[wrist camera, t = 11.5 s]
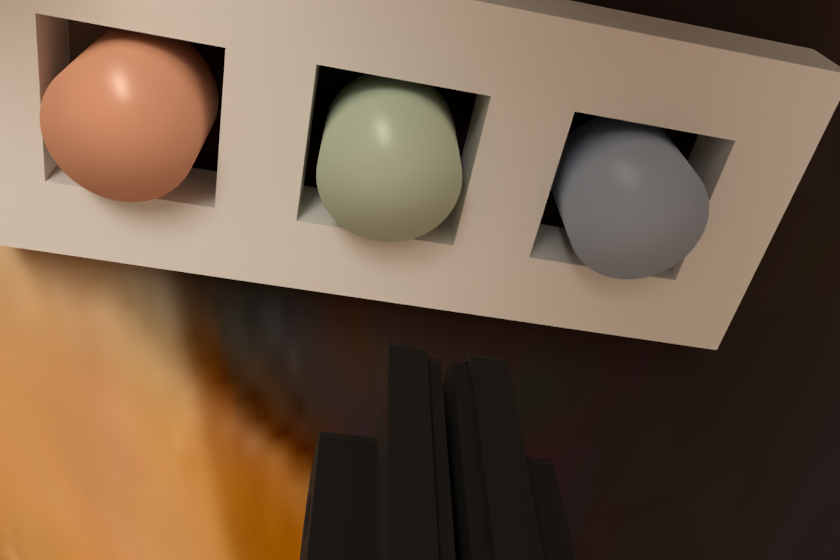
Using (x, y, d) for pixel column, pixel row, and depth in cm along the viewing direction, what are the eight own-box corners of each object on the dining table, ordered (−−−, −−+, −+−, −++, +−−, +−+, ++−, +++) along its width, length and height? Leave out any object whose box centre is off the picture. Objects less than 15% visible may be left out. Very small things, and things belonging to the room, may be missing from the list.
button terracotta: (78, 11, 28) (35, 44, 25) (222, 38, 29) (200, 74, 25) (82, 143, 31) (43, 189, 27) (214, 164, 31) (193, 212, 28)
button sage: (334, 58, 29) (326, 96, 26) (467, 83, 30) (477, 123, 26) (316, 181, 32) (307, 230, 28) (440, 201, 32) (445, 252, 29)
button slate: (570, 102, 30) (593, 143, 27) (694, 125, 31) (731, 168, 28) (535, 217, 33) (551, 268, 30) (650, 236, 34) (679, 288, 30)
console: (-31, -121, 26) (-77, -109, 24) (813, 49, 30) (852, 74, 27) (-1, 203, 32) (-35, 240, 30) (694, 309, 36) (716, 350, 34)
